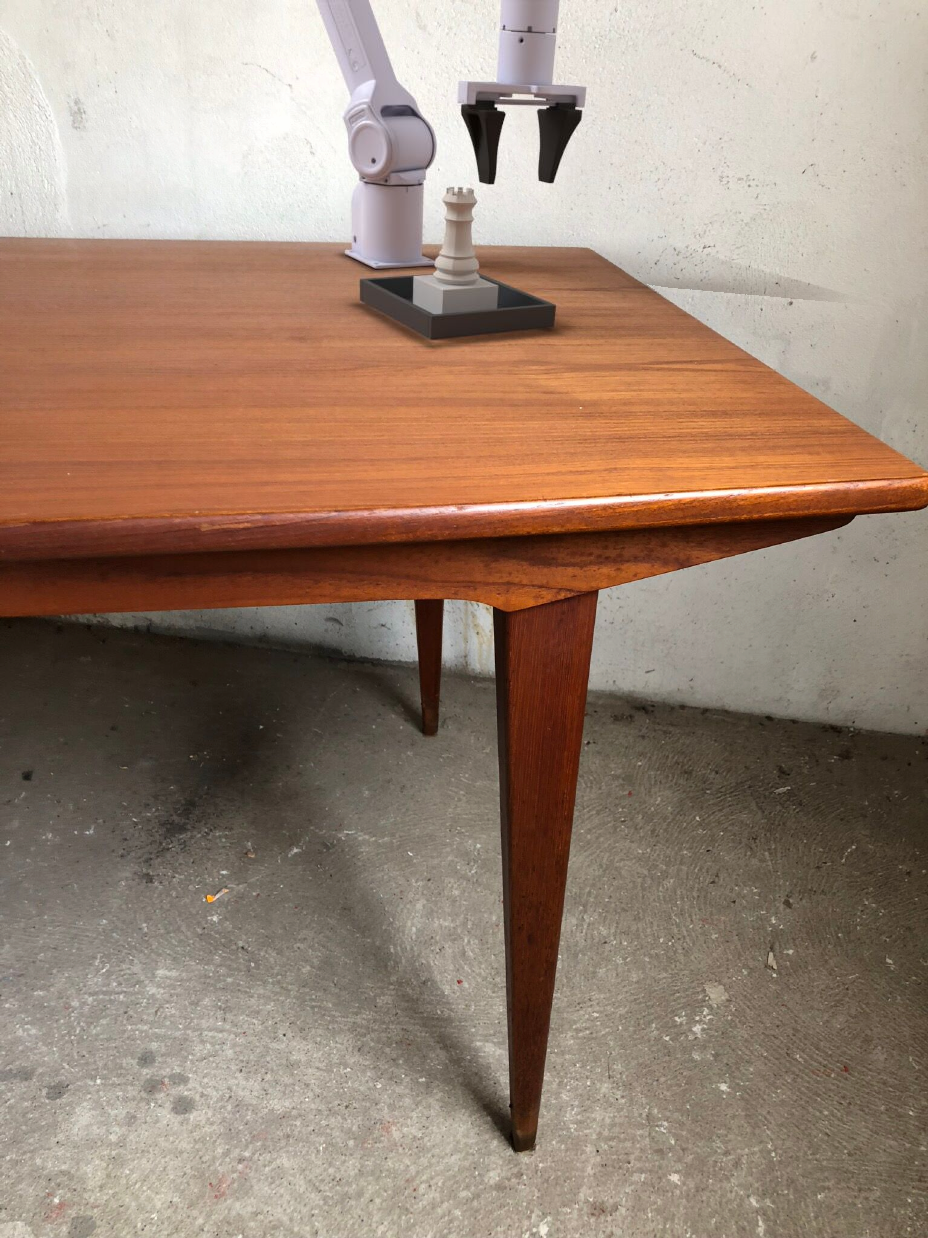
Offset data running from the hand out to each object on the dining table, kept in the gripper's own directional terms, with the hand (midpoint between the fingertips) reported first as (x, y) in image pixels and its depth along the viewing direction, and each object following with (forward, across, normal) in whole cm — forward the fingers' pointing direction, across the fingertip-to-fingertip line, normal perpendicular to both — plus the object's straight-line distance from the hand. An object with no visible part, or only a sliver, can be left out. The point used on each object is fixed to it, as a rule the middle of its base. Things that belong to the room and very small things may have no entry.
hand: (516, 182), depth 98 cm
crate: (+10, -14, -12) cm, 21 cm away
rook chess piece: (+7, -14, -12) cm, 20 cm away
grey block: (+10, -14, -12) cm, 21 cm away
